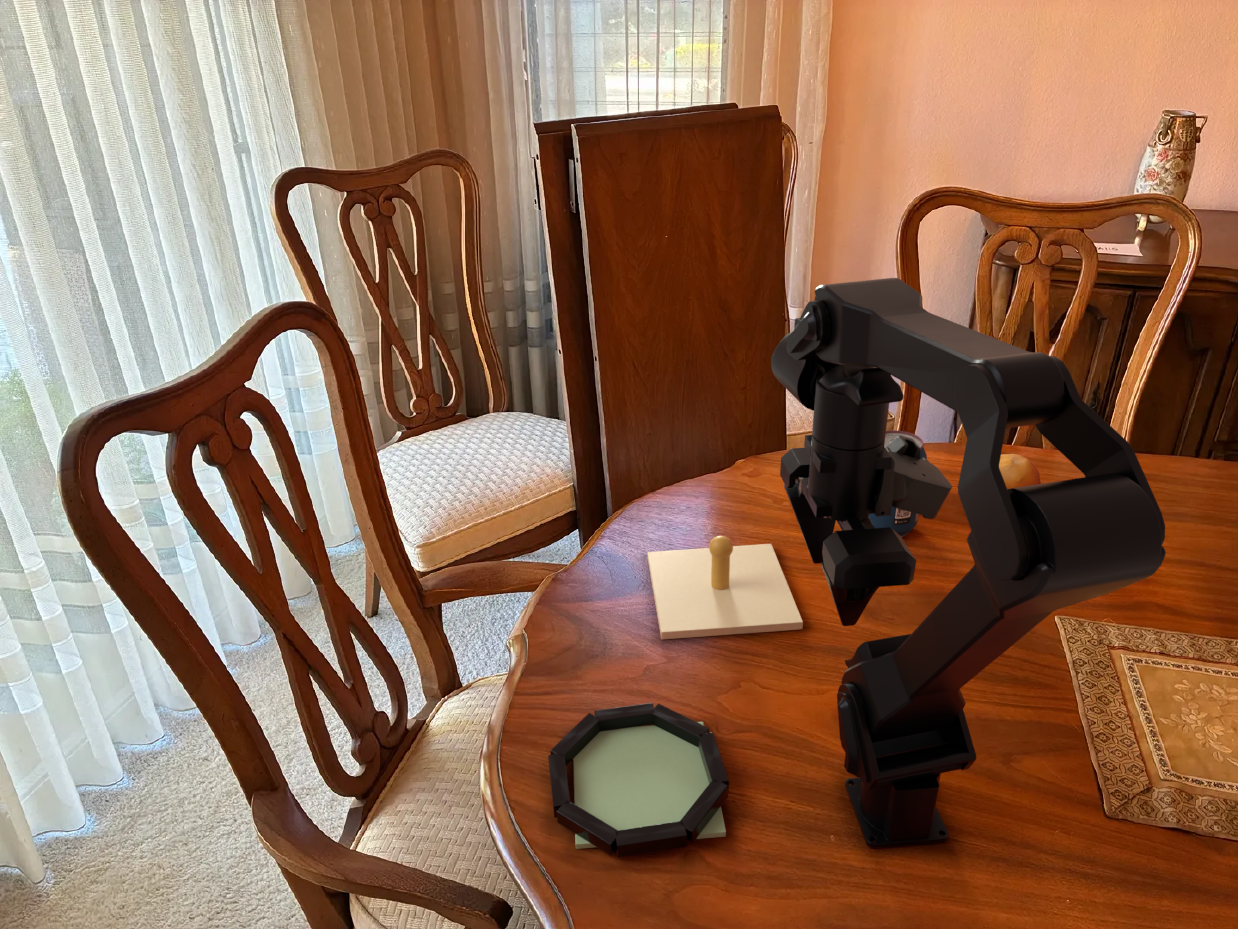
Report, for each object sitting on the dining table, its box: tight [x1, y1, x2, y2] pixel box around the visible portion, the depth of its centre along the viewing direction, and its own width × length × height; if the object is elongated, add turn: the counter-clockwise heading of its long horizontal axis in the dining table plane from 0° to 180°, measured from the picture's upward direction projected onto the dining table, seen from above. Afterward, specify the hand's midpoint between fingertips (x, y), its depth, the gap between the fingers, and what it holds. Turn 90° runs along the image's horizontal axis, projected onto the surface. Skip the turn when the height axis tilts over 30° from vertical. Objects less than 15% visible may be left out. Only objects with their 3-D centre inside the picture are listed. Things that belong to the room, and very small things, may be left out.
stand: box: [647, 535, 804, 640], centre depth 95 cm, size 15×15×7 cm
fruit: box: [999, 453, 1042, 489], centre depth 109 cm, size 8×8×8 cm
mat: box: [572, 721, 727, 850], centre depth 73 cm, size 12×12×1 cm
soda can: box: [869, 429, 928, 538], centre depth 104 cm, size 7×7×12 cm
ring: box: [547, 702, 730, 858], centre depth 73 cm, size 15×15×1 cm
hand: (832, 592), depth 76 cm, fingers open, 9 cm apart
